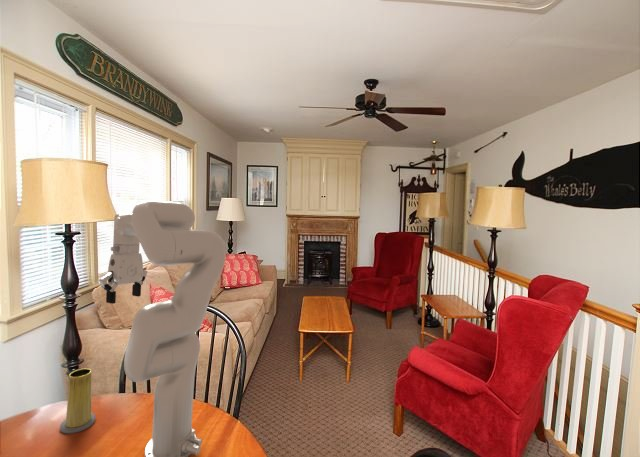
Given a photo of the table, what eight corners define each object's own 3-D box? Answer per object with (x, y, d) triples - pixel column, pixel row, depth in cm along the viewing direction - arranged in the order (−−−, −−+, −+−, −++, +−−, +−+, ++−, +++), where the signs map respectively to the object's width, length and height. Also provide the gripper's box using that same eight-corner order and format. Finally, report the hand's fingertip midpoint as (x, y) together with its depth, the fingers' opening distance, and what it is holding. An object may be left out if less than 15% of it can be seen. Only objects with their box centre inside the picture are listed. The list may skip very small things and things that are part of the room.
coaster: (101, 418, 91) (102, 416, 91) (73, 436, 84) (74, 433, 84) (82, 412, 94) (82, 409, 94) (52, 429, 86) (53, 426, 86)
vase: (97, 415, 91) (98, 368, 91) (79, 429, 85) (81, 379, 85) (78, 413, 92) (79, 366, 92) (59, 427, 86) (60, 377, 85)
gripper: (111, 252, 94) (108, 307, 94) (155, 248, 110) (153, 295, 111) (92, 250, 96) (90, 304, 96) (139, 246, 112) (137, 292, 113)
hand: (124, 299), depth 104 cm, fingers open, 9 cm apart
